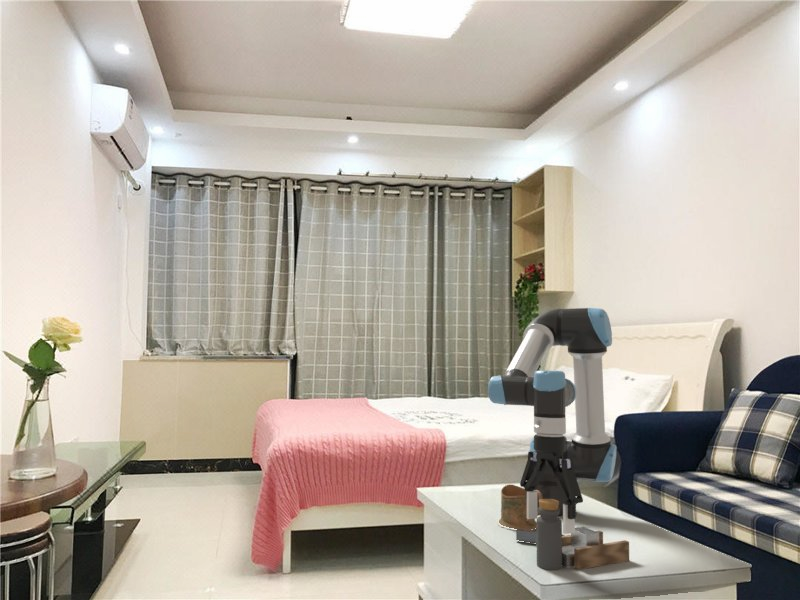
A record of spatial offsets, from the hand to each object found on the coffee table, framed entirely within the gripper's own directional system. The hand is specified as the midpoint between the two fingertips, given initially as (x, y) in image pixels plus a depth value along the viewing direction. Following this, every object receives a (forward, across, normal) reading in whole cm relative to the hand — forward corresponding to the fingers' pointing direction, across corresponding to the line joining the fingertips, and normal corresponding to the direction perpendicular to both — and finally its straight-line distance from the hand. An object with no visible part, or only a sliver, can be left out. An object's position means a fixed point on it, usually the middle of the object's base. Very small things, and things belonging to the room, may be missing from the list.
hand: (549, 525), depth 146 cm
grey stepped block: (+9, 0, +8) cm, 12 cm away
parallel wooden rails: (+9, 0, +12) cm, 15 cm away
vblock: (+9, -12, +8) cm, 17 cm away
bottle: (+9, 0, 0) cm, 9 cm away
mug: (+9, -28, +13) cm, 33 cm away
